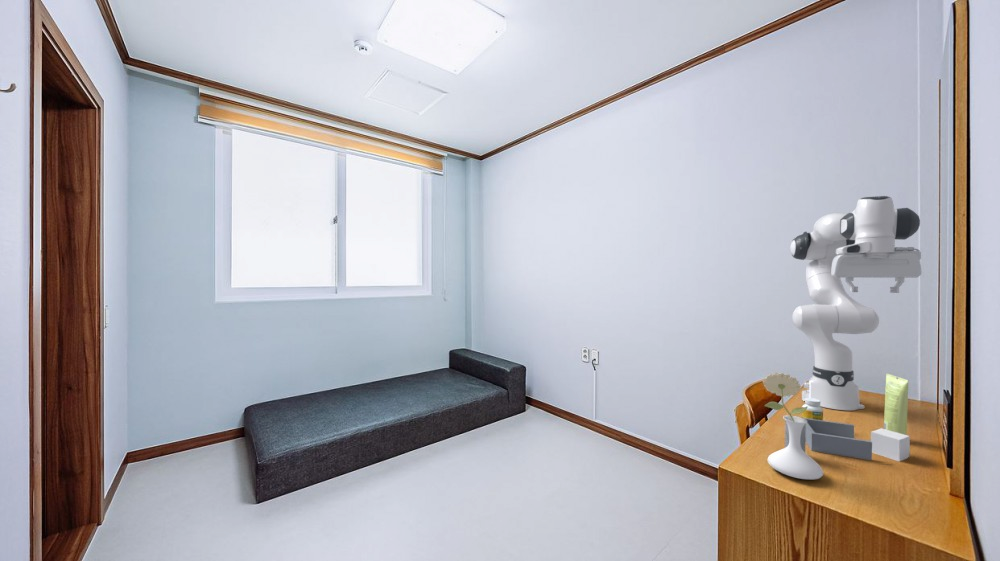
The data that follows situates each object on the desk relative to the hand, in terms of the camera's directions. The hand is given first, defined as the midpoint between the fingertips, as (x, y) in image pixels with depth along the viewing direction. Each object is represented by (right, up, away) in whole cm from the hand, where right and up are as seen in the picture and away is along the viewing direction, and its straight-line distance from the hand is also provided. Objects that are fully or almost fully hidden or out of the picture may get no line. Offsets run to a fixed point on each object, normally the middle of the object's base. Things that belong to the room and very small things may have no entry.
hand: (873, 292), depth 119 cm
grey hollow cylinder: (-34, -46, -12) cm, 58 cm away
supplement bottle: (-13, -45, +7) cm, 48 cm away
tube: (+5, -45, -1) cm, 46 cm away
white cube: (-6, -46, -11) cm, 47 cm away
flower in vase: (-41, -46, -20) cm, 65 cm away
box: (-17, -45, -6) cm, 49 cm away
